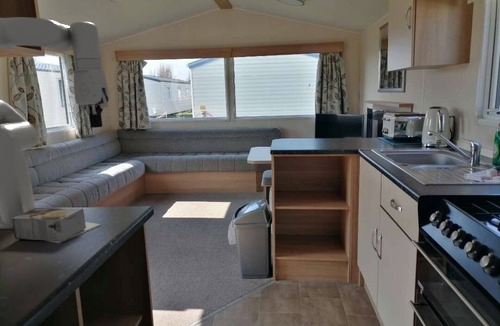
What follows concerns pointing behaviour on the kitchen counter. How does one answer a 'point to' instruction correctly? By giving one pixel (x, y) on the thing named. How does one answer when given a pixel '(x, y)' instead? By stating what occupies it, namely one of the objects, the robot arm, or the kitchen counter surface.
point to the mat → (88, 227)
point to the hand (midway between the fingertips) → (96, 127)
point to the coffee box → (49, 224)
